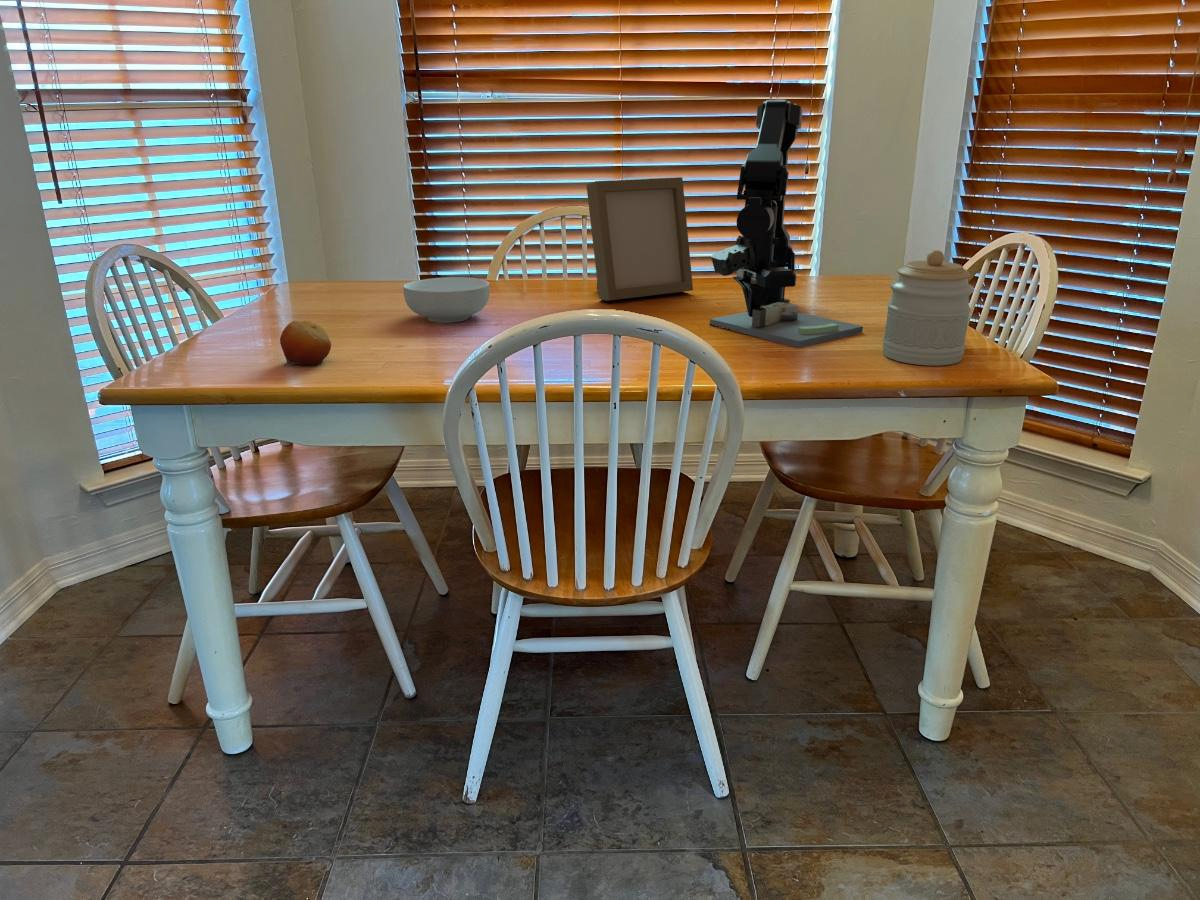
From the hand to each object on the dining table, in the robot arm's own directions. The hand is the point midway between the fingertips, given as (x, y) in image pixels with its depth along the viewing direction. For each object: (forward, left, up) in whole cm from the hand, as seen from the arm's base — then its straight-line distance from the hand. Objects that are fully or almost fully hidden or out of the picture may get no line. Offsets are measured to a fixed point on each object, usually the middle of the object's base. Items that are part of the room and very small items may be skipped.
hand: (751, 316), depth 161 cm
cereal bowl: (+40, -45, -3) cm, 60 cm away
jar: (-9, +30, -3) cm, 32 cm away
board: (-6, +3, -3) cm, 7 cm away
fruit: (+74, -30, -3) cm, 80 cm away
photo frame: (-5, -41, -3) cm, 41 cm away
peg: (-4, +2, -1) cm, 5 cm away
